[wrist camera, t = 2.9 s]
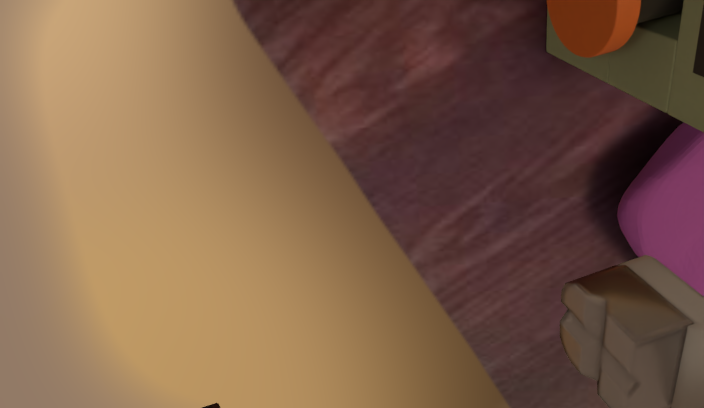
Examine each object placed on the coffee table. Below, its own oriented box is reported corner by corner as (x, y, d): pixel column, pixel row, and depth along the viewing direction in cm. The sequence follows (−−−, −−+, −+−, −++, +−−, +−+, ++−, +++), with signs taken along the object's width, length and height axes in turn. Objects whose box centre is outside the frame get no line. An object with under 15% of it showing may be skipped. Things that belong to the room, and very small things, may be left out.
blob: (717, 253, 46) (776, 295, 42) (584, 302, 44) (632, 350, 40) (755, 67, 38) (832, 95, 34) (596, 116, 36) (657, 152, 32)
